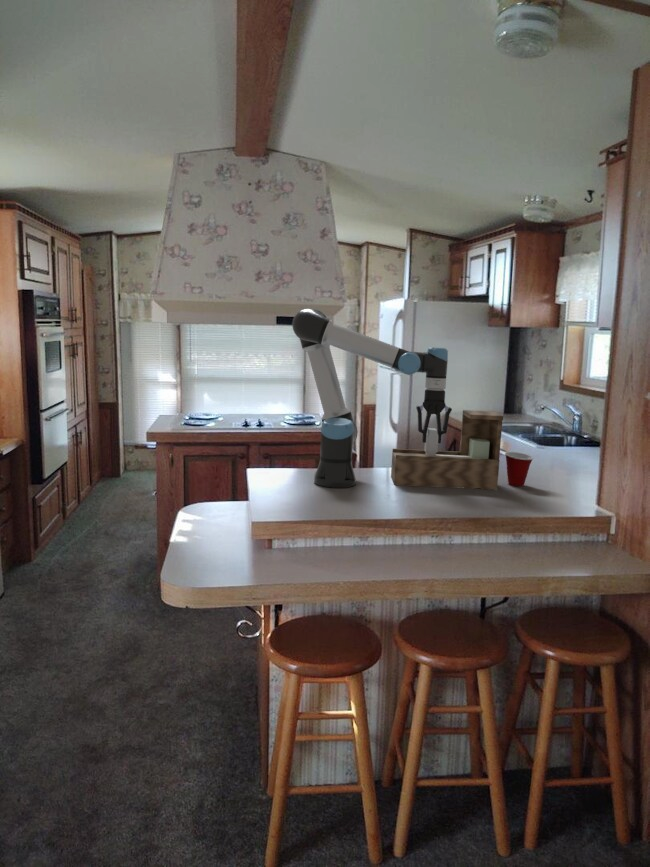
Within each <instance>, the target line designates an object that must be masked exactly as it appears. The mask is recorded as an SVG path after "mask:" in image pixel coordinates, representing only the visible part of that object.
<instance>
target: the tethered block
mask: <svg viewBox="0 0 650 867" xmlns="http://www.w3.org/2000/svg"><path fill="white" fill-rule="evenodd" d="M427 434H428V449H427V452H426V455H427V456H433V457H454V458H476V459H488V457H489V445H490V442H489V441H488V440H486V439H475V438H470V441H469V454H468V456H459V455H438V454H436V443H437V434H438V433H437V428H434V427H428V430H427Z"/></svg>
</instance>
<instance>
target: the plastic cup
mask: <svg viewBox="0 0 650 867" xmlns="http://www.w3.org/2000/svg"><path fill="white" fill-rule="evenodd" d="M504 455H505V462H506V475H507V483H508V486H511V485H513V486H512V487H519V486H520V487H523V486H525V482H526V480H527V477H528V474H529V470H530V465H531V463H532V461H533V460H534V459H535V457H534V456H532V455H530V454H526V453H522V452H515V451H505V452H504Z"/></svg>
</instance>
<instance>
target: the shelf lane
mask: <svg viewBox="0 0 650 867" xmlns="http://www.w3.org/2000/svg"><path fill="white" fill-rule="evenodd" d="M503 420H504V415H502V414H501V413H498V412H496V411H490V410H489V411H488V410H470V409H469V410H468V409H463V410H462V418H461V430H460V444H459V451H453V450H452V451H450V450H437V452H436V454H438V455H459V456H468V454H469V441H470V438H475V439H486V440H488V441H489V442H490V445H489V457H488V459H476V458H454V457H433V456H427V455H426V452H425V451H424V449H411V448H410V449H409V448H408V449H406V448H405V449H404V448H392V455H391V457H392V458H391V469H390V470H391V471H390V472H391V473H390V477H391V481H392V483H393V485H394V486H404V487H405V486H409V487H429V488H431V487H432V488H447V487H464V488H463V489H468V488H482V489H481V490H489V489H497V490H498V482H499V481H498V480H499V470H500V455H501V454H500V453H501V442H502V431H503Z"/></svg>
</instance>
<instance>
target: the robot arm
mask: <svg viewBox="0 0 650 867" xmlns="http://www.w3.org/2000/svg"><path fill="white" fill-rule="evenodd" d="M291 324H292V330H293V333H294V334H295V336H296V337H298V339H299V342H300V345H301V349H302V350H303V351H305V352H306V353H307V355H308V359H309V363H310V367H311V369H312V374H313V377H314V382H315V384H316V388H317V392H318V396H319V400H320V404H321V408H322V410H323V415H322V416H321V427H320V432H321V433H320V435H321V436H320V448H319V449H320V453H319V457H320V458H319V463H318V466H317V468H316V472H315V473H314V478H313V480H314V481H313V482H314V484H315V485H318V486H320V487H326V488H333V489H334V488H335V489H338V488H339V489H341V488H343V489H344V488H351V487H353V486H355V485H356V482H357V481H356V474H355V472H354V468H353V463H352V462H353V445H354V443H355V442H356V439H357V438H358V434H359V433H358V427H357V424H356V423H355V421H354V419H353V418H354V417H353V415H352V411H351V409H349V408H348V407H346V404H345V399H344V396H343V392H342V389H341V388H342V387H341V384H340V381H339V378H338V373H337V370H336V366H335V363H334V359H333V355H332V351H331V348H330V347H331V346H332V347H335V348H338V349H340V350H342V351H345V352H348V353H351V354H353V355H356V356H358V357H362V358H364V359H367V360H370V361H372V362H375V363H378V364H381V365H383V366H386V367H389V368H391V369H394V371H396V372H400V373H403V374H404V375H413V374H415V373H422V374H423V373H424V374H425V382H424V383H425V385H424V388H425V389H424V400H423V402H422V404H420V405H416V406H415V409H416V412H417V431H418V432H419V433H421V434H422V439H421V441H422V443H423V444H424V449H423V450H424V451H425V452H427V449H428V434H427V430H428V428H429V425H430V421H431V420H430V419H431V416H432V415H435V419H436V420H435V421H436V429H437V443H436V452H437V451H439V450H438V448H439V444H441V442H442V436H443V435H444V434H447V431H448V427H449V426H448V425H449V419H450V414H451V412H452V408H451V407H450V406H447V405H446V402H445V401H446V391H445V389H446V386H447V372H448V361H449V360H448V359H449V358H448V357H449V355H448V354H449V353H448V352H449V350H448V349H447V348H445V347H428V348H427V351H426V352H425V351H424V352H421V351H409V350H406V349H403V348H400V347H398V346H396V345H393V344H391V343H388V342H384V341H382V340H380V339H379V340H378V339H376V338H373V337H372V336H369V335H366V334H363V333H360V332H357V331H355V330H352V329H350V328H348V327H347V328H346V327H345V326H341V325H338V324H336V323H334V322H333V319H330V318H329V317H327V316H326V315H325V313H323V312H322V311H320V310H318V309H312V308H304V309H301V310H299V311H298V312H297V313H296V314H295V315H294V317H293V318H292V322H291ZM423 408H424V409H423ZM423 410H425V412H426V415H425V419H424V424H423V418H422V417H423V413H422V411H423ZM443 410H444V419H443V425H442V423H441V422H442V420H441V414H442V412H443Z"/></svg>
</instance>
